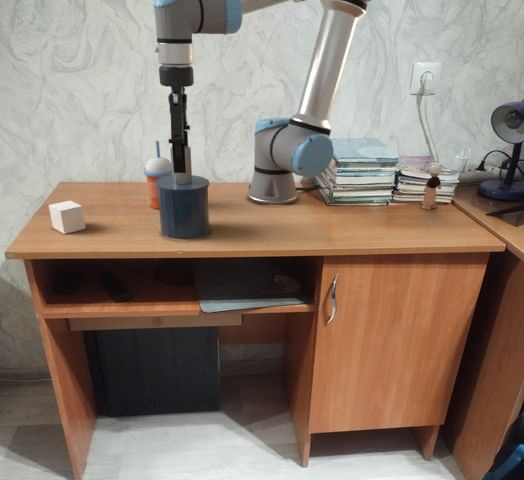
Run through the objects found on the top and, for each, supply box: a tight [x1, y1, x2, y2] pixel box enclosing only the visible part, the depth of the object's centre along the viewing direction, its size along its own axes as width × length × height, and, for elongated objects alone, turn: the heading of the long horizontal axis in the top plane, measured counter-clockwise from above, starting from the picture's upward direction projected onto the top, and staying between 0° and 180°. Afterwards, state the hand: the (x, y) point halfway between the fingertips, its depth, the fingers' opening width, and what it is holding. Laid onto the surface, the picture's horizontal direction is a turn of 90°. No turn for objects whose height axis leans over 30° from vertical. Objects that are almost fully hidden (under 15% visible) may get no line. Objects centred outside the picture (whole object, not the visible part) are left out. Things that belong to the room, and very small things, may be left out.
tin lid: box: [155, 145, 210, 192], centre depth 126 cm, size 13×13×9 cm
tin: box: [158, 186, 210, 241], centre depth 132 cm, size 12×12×12 cm
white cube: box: [48, 200, 87, 235], centre depth 134 cm, size 6×6×6 cm
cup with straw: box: [142, 140, 172, 210], centre depth 148 cm, size 9×9×18 cm
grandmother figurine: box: [421, 163, 442, 210], centre depth 154 cm, size 8×4×13 cm, turn 139°
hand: (181, 165), depth 126 cm, fingers open, 13 cm apart
